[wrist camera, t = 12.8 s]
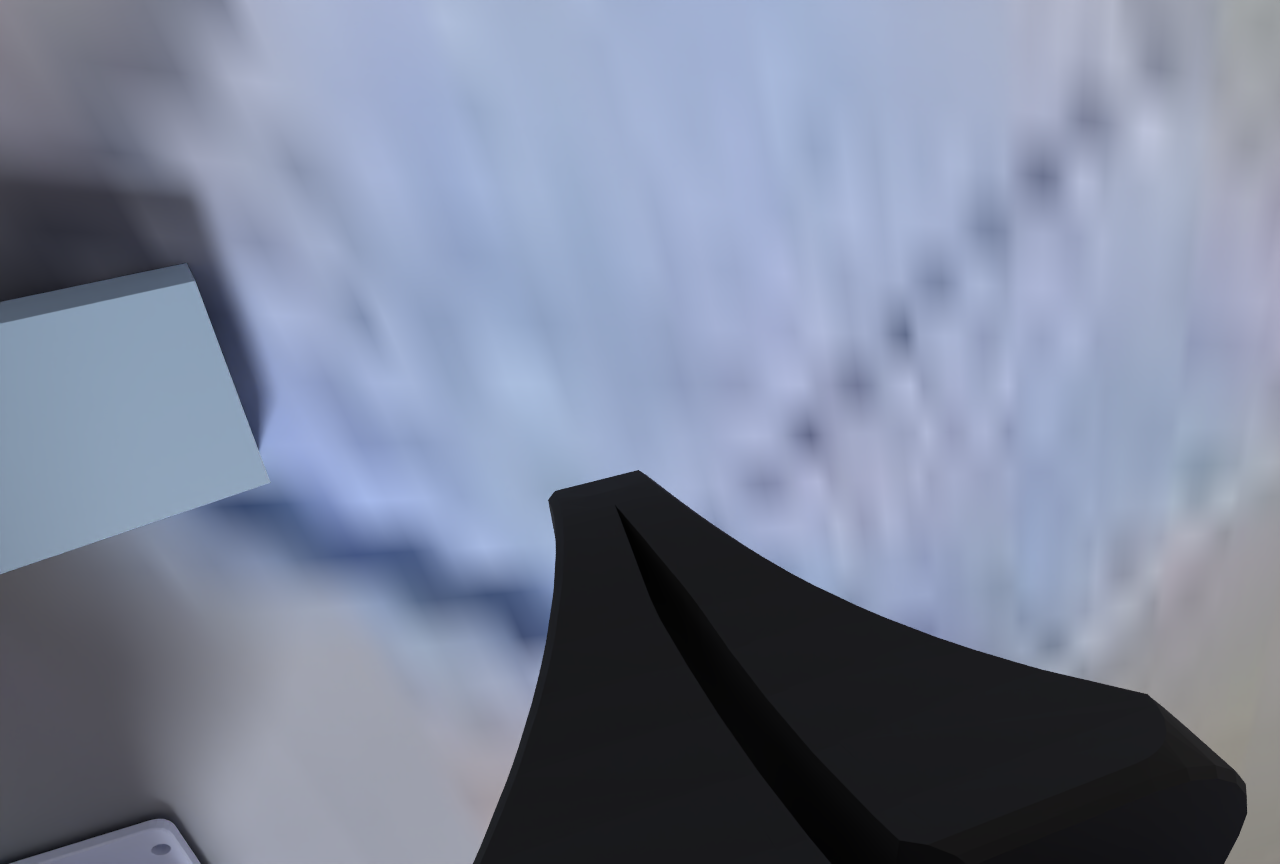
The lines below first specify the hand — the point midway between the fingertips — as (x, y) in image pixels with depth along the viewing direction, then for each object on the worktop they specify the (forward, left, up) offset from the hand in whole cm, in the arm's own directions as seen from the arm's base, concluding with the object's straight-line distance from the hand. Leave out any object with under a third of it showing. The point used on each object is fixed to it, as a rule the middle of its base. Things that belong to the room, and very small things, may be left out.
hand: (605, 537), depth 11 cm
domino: (0, +6, -10) cm, 11 cm away
